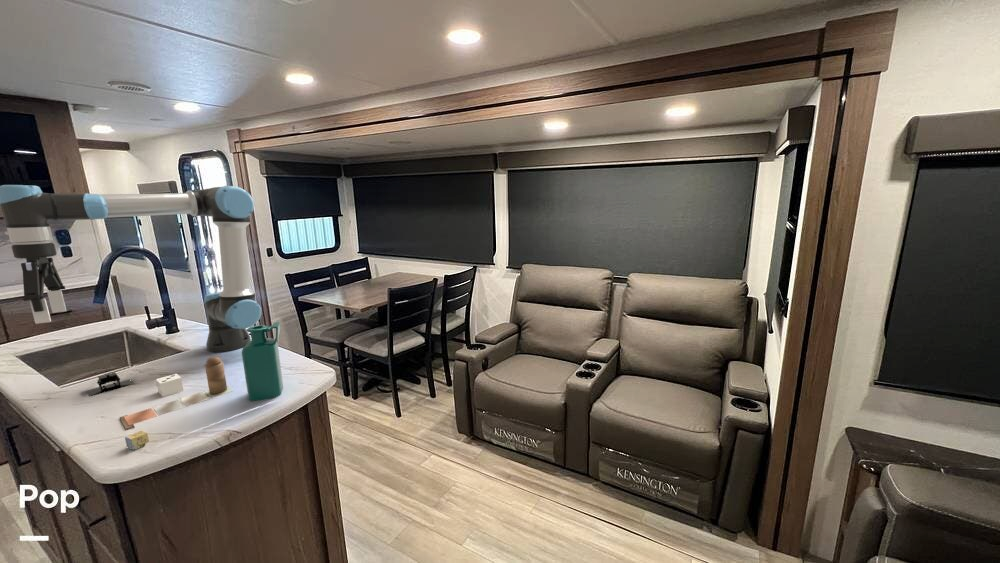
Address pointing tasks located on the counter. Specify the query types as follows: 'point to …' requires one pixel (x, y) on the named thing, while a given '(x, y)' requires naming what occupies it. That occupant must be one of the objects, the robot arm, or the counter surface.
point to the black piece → (110, 387)
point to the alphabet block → (136, 440)
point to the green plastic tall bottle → (262, 364)
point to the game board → (166, 408)
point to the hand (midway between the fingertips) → (52, 317)
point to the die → (169, 385)
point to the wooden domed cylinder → (215, 375)
